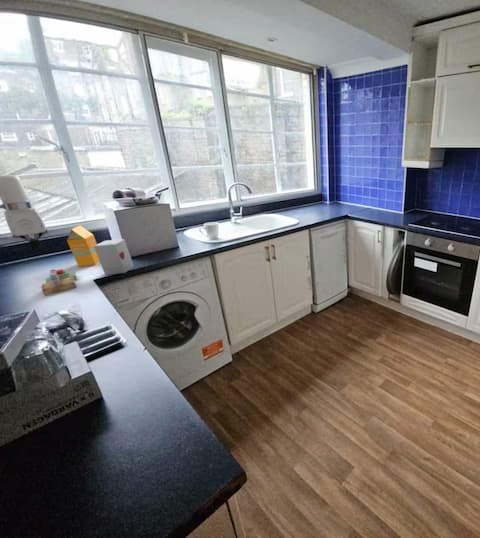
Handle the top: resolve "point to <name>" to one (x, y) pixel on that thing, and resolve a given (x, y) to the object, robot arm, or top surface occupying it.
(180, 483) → the top surface
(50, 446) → the top surface
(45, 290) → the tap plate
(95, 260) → the orange juice
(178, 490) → the top surface
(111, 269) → the white product box
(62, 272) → the button
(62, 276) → the button box
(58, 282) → the grey tan flat block
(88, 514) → the top surface
